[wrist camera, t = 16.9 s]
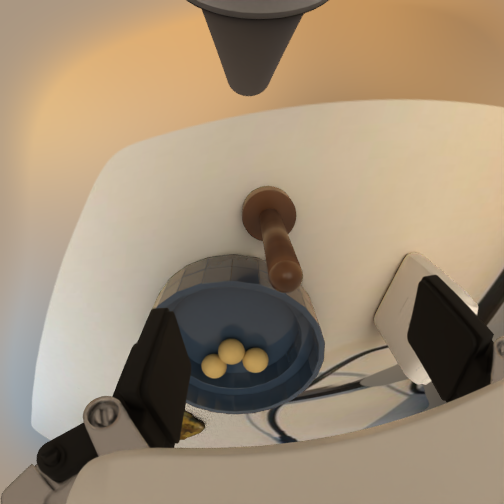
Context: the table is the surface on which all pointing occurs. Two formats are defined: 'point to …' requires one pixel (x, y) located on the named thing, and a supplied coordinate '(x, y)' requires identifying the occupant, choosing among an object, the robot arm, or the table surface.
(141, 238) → the table surface
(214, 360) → the dough ball
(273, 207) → the wooden dough tamper
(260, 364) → the dough ball
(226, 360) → the dough ball
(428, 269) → the photo printer
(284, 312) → the bowl
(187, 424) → the lumpy olive cookie
